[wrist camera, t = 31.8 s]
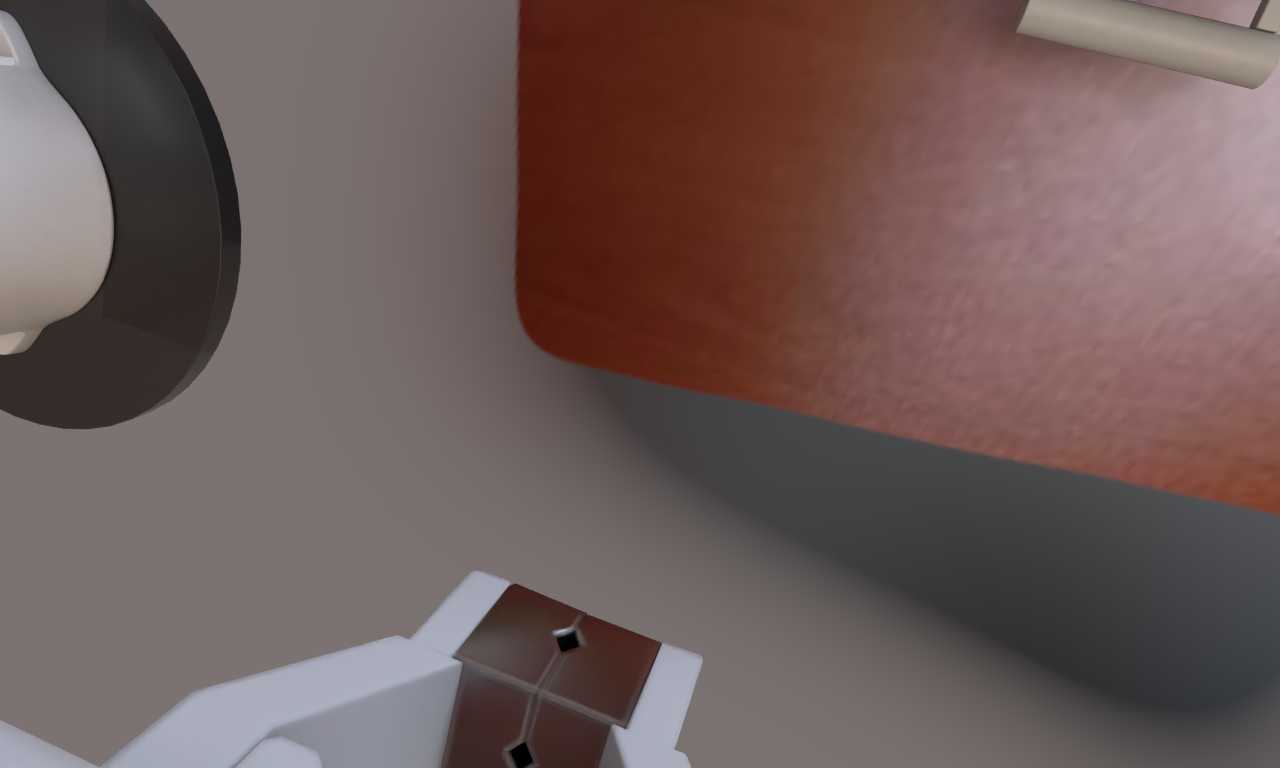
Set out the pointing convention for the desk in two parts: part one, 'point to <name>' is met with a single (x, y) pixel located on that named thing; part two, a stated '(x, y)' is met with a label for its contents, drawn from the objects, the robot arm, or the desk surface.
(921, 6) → the desk surface
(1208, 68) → the drawer
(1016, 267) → the desk surface
